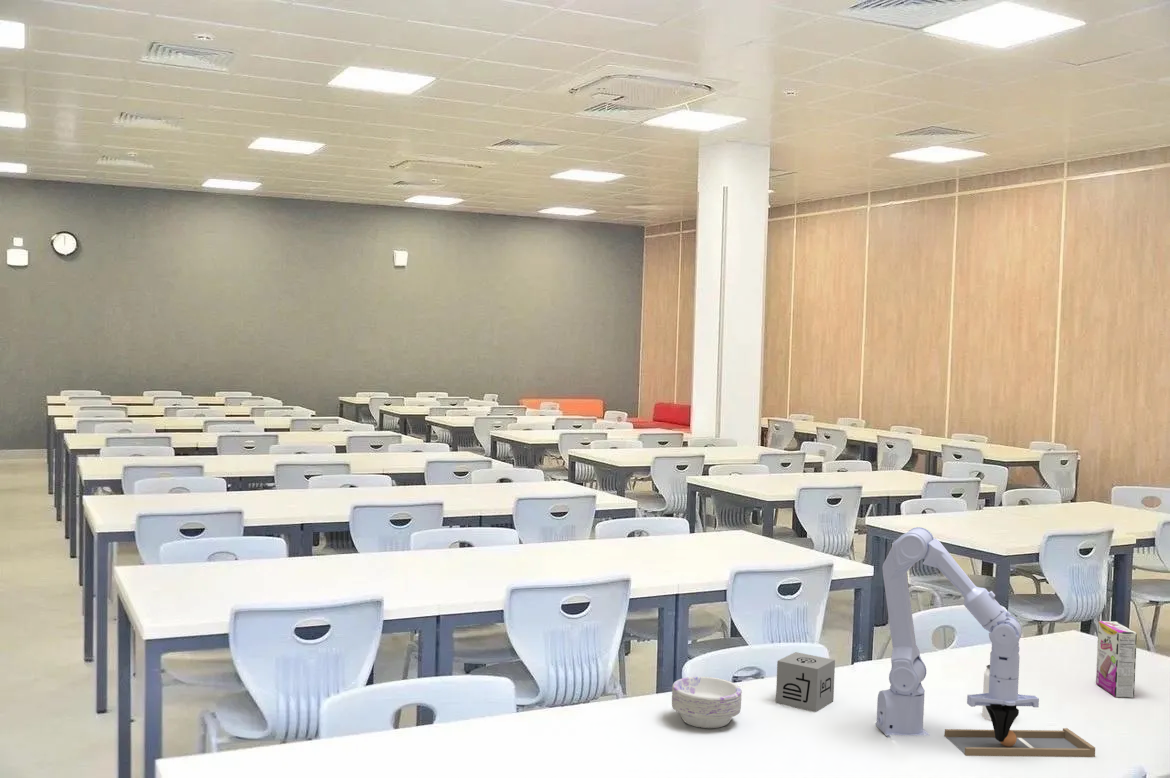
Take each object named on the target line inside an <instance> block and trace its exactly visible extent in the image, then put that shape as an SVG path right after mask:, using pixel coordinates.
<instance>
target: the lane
mask: <svg viewBox="0 0 1170 778" xmlns="http://www.w3.org/2000/svg"><path fill="white" fill-rule="evenodd" d="M1010 730H1011V731H1013V732H1014V733H1015V735H1016V738H1017V740H1016V743H1015V744H1014V745H1013V746H1011V747H1006V746H1004V745H1002V744H1001V743H1000V742H999V741H998V740H997V739H995V732H994V729H971V728H970V729H967V728H966V729H960V728H959V729H955V728H949V729H947V728H945V729H944V737H945V738H946V739H947V740H948V741H949V742H950V743H952V744H953V745H954V746H955V747H956V748H957V749H958V750H959V751H960V752H962V754H964V756H967V757H968V756H969V757H970V756H971V757H975V756H976V757H977V756H978V757H1044V758H1045V757H1056V758H1057V757H1063V758H1064V757H1065V758H1067V757H1068V758H1076V757H1077V758H1095V757H1096V747H1095V746H1093V745H1092V744H1091V743H1089V742H1088V741H1086V739H1084V738H1082V737H1081V736H1079V735H1078V734H1076V733H1075V732H1074V731H1072V730H1071V729H1069V728H1067V727H1065V728H1062V730H1059V729H1057V730H1053V729H1052V730H1051V729H1048V730H1047V729H1046V730H1045V729H1044V730H1041V729H1039V730H1038V729H1035V730H1033V729H1026V730H1025V729H1010Z"/></svg>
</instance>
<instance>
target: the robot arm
mask: <svg viewBox="0 0 1170 778" xmlns="http://www.w3.org/2000/svg"><path fill="white" fill-rule="evenodd" d="M920 560H924V561H923V562H922V565H924V566H928V567H933V568H935V569H938V570H939V572H940V573H942V575H943V576H944V577H945V579H947V580H948V581H949V582H950V584H952V585H953V586H954V587H955V589H957V591H958V592H959V593H960V594H961V595H962V596H963V599H964V600H963V606H964V607H965V609H967V610H968V612H969V613H970V614H971V615H972V616H973V617H974V619H976V621H977V622H978V623H979V625H981V626H982V628H983V629H984V630H986V631H988V632H989V633H988V637H989V641H990V642H991V651H990V655H989V657H990V658H989V665H990V674H989V693H983V692H982V693H978V694H977V693H976V694H975V693H974V694H967V697H966V704H967V705H968V706H970V707H976V706H977V707H979V706H981V707H983V706H986V709H987V711H988V713H989V715H990V718H991V721H990V722H991V724H992V727H993V730H994V732H995V739H997V740H998V741H999V742H1004V739H1005V738H1006V737H1007V736H1008V733H1009V730H1011V727H1012V725H1013V723H1014V721H1015V720H1016V719H1017V717H1018V716H1019V712H1020V709H1018V707H1032V708H1039V705H1040V703H1039V702H1040V698H1039V697H1038V696H1036V695H1031V694H1030V695H1028V694H1020V693H1019V680H1020V679H1019V678H1020V677H1019V676H1020V654H1019V653H1020V643H1019V642H1020V638H1021V636H1022V633H1023V632H1022V626H1021V624H1020V623H1019V621H1018V619H1017V618H1016V617H1014V616H1012V613H1011V612H1010V611H1009V610H1007V611H1006V610H1005V609H1004V608H1003V606H1002V605H1001V604H1000V603H999V601H997V600H996V599H995V597H996V594H995V593H994V592H993V590H990V591H988V589H987V588H986V587H980V586H977V585H975V583H974V582H973V580H971V579H970V577H969V575H967V573H966V572H965V571H964V569H962V567H961V566H960V564H959V563H958V562H957V561H956V559H955V558H954V557H953V556H952V555H951V553H950V552H949V551H948V549H946V548H945V546H944V545H943V544H942V543H941V541H940V540H938V539H937V538H936V537H934V536H933V534H932V533H931V531H929V529H927V528H926V527H925V528H924V527H921V526H919V527H918V526H916V527H913V528H911V529H909V530H908V531H907V532H905V533H903V534H902V535H900V536H899V537H898V538H896V540H895V541H894V542H893V543H892V545H891V548H890V550H889V552H888V554H887V556H886V558H885V560H884V562H883V564H882V576H883V584H884V585H883V586H884V591H885V600H886V607H887V614H888V623H889V630H890V631H889V632H890V637H891V645H892V651H891V658H890V662H891V668H890V671H889V674H888V680H889V681H888V682H889V683H890V686H889V688H888V689H885V690H883V689H882V690H879V692H878V695H877V699H876V701H877V703H876V704H877V705H876V722H875V723H874V725H875V726H877V728H878V729H879V730H880V731H881V733H883V734H884V735H885V736H886V737H891V736H930V734H929V732H928V731H926V730H925V729H924V717H925V716H924V715H925V714H924V711H925V688H924V686H923V684H922V682H923V681H924V680H925V678H926V676H927V667H926V665H925V663H924V661H923V659H922V657H921V655H920V654H921V653H920V649H919V647H918V645H917V642H916V641H917V640H916V635H915V626H914V619H913V613H912V603H911V596H910V589H909V587H910V586H909V581H908V575H907V573H908V572H909V570H910V569H911V568H912V567H914V565H915V564H916V563H918V562H919V561H920Z"/></svg>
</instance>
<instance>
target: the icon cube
mask: <svg viewBox="0 0 1170 778" xmlns="http://www.w3.org/2000/svg"><path fill="white" fill-rule="evenodd" d="M776 662H777V665H776V666H777V667H776V685H775V686H776V691H775V693H776V694H775V704H779V705H783V706H786V707H791V708H797V709H800V710H804V711H810V712H813V713H817V712H818V711H820V710H822V709H824V708H826V707H828V706H829V705H830V704H832V703H833V702H834V695H835V693H834V692H835V673H836V672H835V668H836V667H835V666H836V660H835V659H833V658H828V657H827V658H826V657H821V656H817V655H811V654H807V653H802V652H799V651H796V652H793V653H791V654H789V655H786V656H785V657H783V658H780V659H778V660H777V661H776Z"/></svg>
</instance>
